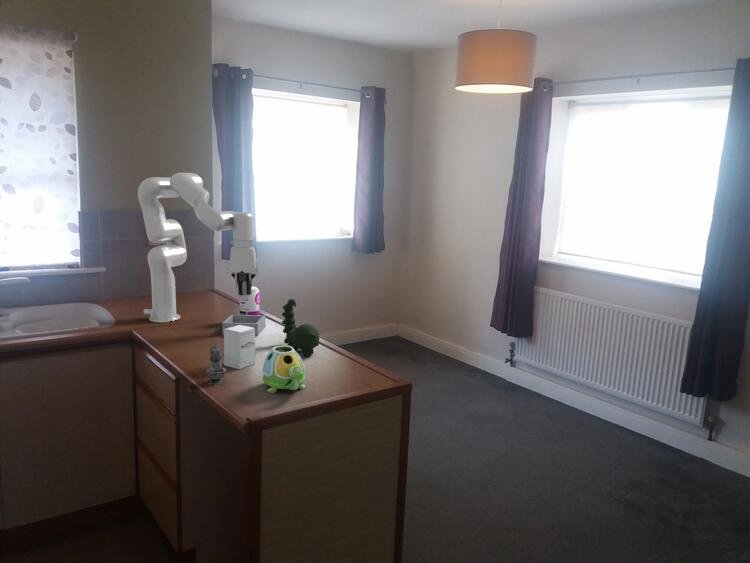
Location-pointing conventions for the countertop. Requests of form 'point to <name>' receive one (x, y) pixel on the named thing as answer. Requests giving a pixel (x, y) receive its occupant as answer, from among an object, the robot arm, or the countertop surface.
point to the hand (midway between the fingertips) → (244, 289)
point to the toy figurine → (299, 332)
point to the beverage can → (243, 284)
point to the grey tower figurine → (215, 367)
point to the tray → (245, 322)
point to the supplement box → (239, 346)
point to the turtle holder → (283, 369)
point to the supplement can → (250, 303)
